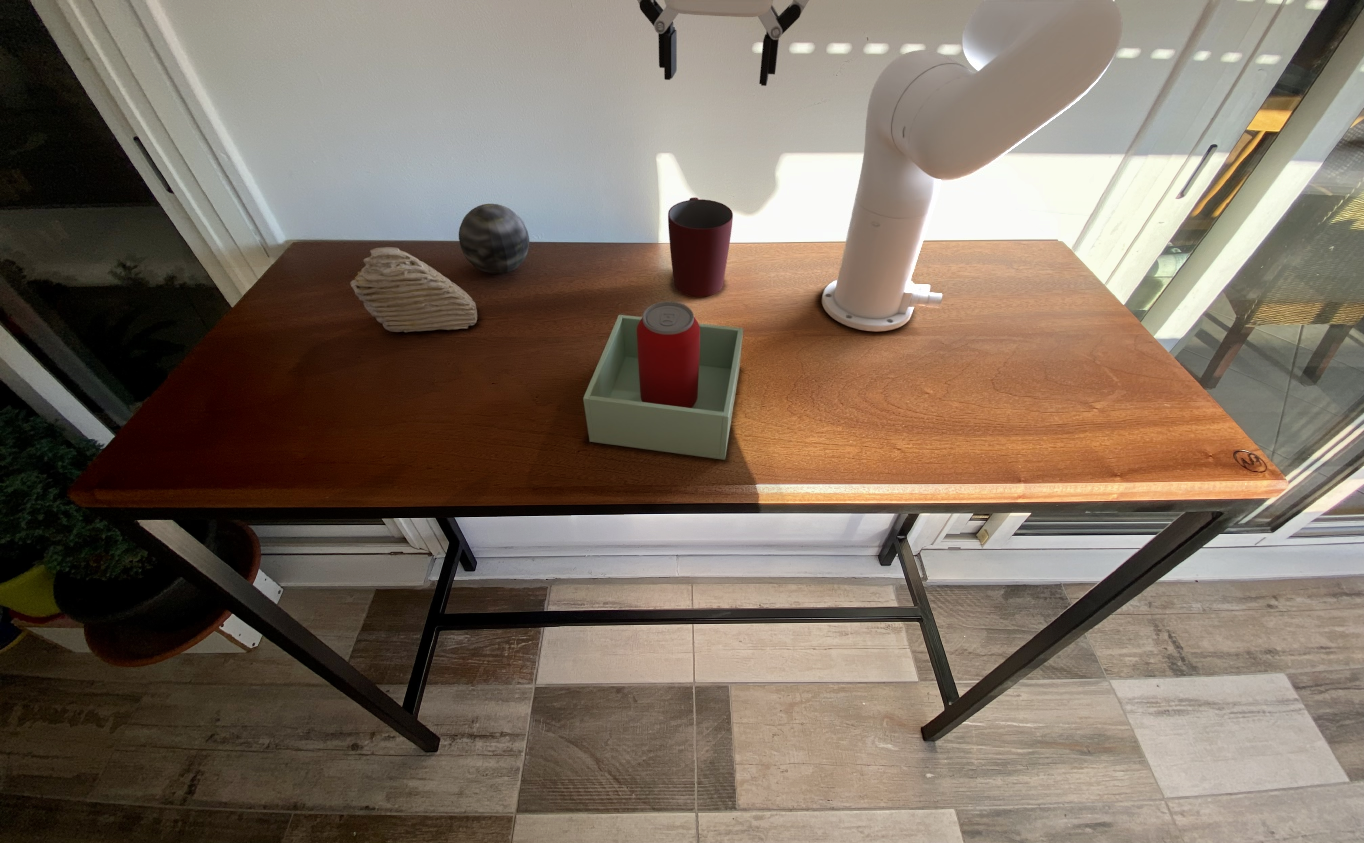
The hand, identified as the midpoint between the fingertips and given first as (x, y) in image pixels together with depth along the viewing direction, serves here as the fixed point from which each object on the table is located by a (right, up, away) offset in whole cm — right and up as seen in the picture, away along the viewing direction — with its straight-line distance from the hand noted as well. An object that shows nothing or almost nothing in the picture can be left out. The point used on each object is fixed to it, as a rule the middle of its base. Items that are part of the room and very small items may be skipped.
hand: (716, 79), depth 61 cm
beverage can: (-5, -33, +10) cm, 34 cm away
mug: (-1, -13, +30) cm, 33 cm away
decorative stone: (-31, -12, +31) cm, 46 cm away
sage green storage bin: (-5, -33, +10) cm, 35 cm away
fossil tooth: (-39, -22, +21) cm, 49 cm away
